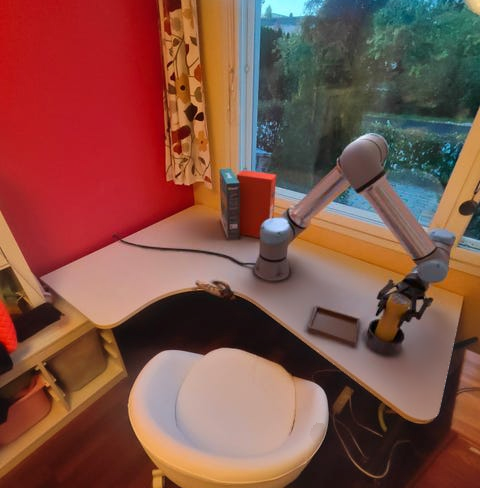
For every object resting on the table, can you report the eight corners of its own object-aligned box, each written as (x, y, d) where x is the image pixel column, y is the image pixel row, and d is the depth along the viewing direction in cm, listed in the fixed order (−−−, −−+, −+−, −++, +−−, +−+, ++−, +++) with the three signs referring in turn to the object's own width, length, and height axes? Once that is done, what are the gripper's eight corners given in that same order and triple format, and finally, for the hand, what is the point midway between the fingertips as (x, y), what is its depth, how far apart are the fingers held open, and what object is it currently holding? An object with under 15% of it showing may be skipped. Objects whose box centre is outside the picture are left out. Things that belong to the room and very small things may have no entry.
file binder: (267, 239, 148) (271, 179, 130) (236, 233, 153) (236, 174, 135) (272, 232, 154) (276, 174, 136) (242, 226, 159) (243, 169, 141)
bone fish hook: (242, 292, 114) (205, 278, 121) (242, 283, 112) (204, 269, 119) (230, 306, 107) (191, 290, 114) (230, 296, 105) (191, 280, 112)
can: (373, 339, 91) (389, 301, 82) (375, 327, 95) (390, 290, 86) (393, 345, 89) (411, 307, 80) (393, 333, 93) (410, 295, 84)
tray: (307, 331, 97) (308, 327, 96) (315, 309, 106) (316, 305, 105) (354, 347, 92) (355, 342, 91) (358, 322, 101) (359, 318, 99)
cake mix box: (239, 238, 149) (239, 182, 132) (227, 239, 148) (226, 183, 131) (231, 220, 166) (230, 168, 150) (221, 220, 165) (219, 169, 149)
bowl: (363, 348, 91) (367, 337, 88) (366, 326, 99) (370, 315, 96) (398, 361, 88) (404, 349, 85) (399, 336, 96) (404, 325, 93)
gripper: (442, 305, 92) (418, 346, 79) (385, 279, 103) (354, 311, 90) (452, 287, 88) (428, 327, 75) (391, 262, 99) (360, 293, 85)
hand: (388, 318), depth 82 cm, fingers closed on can, 6 cm apart
